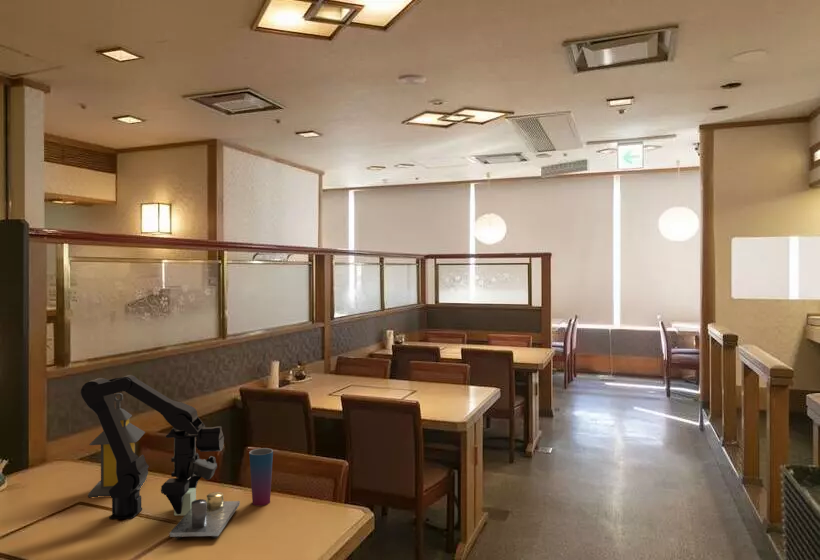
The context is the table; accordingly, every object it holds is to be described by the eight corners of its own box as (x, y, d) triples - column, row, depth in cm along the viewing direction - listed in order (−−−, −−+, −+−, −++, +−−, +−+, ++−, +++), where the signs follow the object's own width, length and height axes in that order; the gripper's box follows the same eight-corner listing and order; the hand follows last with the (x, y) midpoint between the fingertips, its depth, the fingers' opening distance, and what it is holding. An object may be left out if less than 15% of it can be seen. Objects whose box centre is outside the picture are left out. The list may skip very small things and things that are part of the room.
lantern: (137, 494, 174) (137, 396, 174) (86, 498, 171) (86, 398, 171) (147, 479, 188) (147, 388, 188) (100, 482, 185) (100, 390, 185)
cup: (266, 507, 163) (266, 455, 163) (245, 506, 164) (244, 454, 165) (277, 498, 170) (276, 448, 170) (256, 497, 171) (255, 447, 171)
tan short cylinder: (204, 508, 156) (204, 498, 157) (209, 502, 161) (209, 492, 161) (220, 508, 157) (220, 497, 157) (225, 502, 161) (225, 491, 161)
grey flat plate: (169, 542, 142) (169, 532, 142) (197, 510, 162) (197, 501, 162) (218, 541, 142) (218, 531, 142) (239, 509, 162) (239, 501, 162)
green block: (174, 515, 158) (174, 494, 158) (180, 509, 163) (180, 488, 163) (190, 515, 158) (190, 493, 158) (196, 508, 163) (195, 487, 163)
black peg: (189, 528, 144) (189, 505, 144) (194, 522, 147) (194, 499, 147) (204, 528, 144) (203, 504, 144) (208, 521, 148) (208, 499, 148)
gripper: (202, 462, 151) (202, 520, 151) (223, 442, 170) (223, 494, 170) (160, 462, 151) (160, 521, 151) (185, 442, 170) (185, 495, 170)
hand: (185, 507), depth 160 cm, fingers open, 9 cm apart
